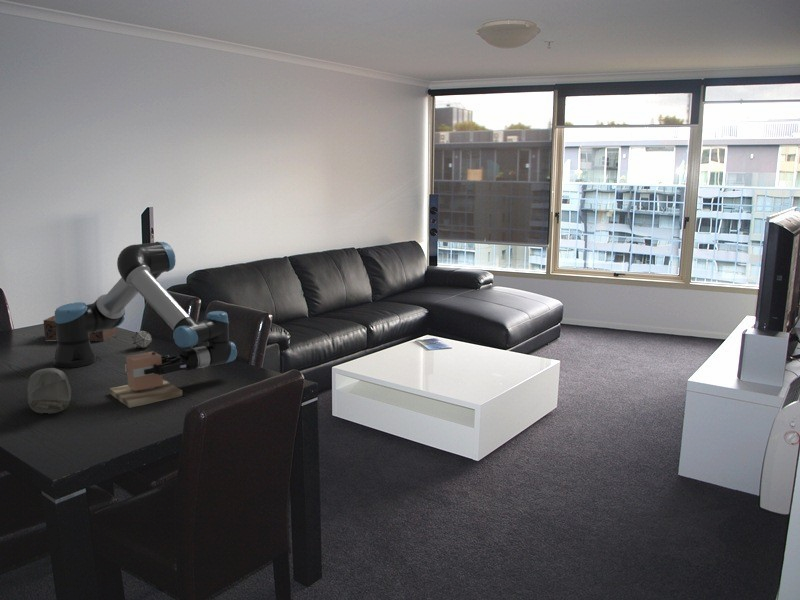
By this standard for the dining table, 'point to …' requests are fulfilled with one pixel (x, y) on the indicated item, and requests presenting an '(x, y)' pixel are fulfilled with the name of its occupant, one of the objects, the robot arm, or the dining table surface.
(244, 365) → the dining table surface
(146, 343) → the game die
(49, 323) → the tissue box cover
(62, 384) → the decorative stone
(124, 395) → the base
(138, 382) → the notched tan block
